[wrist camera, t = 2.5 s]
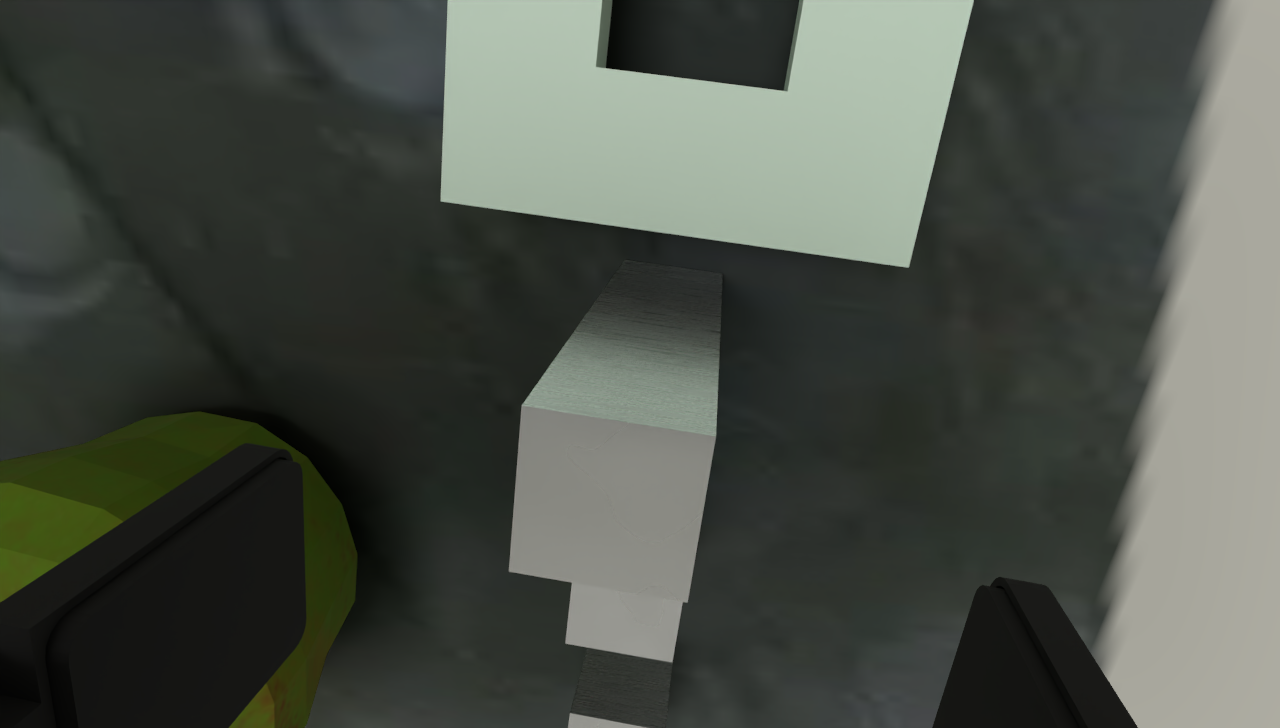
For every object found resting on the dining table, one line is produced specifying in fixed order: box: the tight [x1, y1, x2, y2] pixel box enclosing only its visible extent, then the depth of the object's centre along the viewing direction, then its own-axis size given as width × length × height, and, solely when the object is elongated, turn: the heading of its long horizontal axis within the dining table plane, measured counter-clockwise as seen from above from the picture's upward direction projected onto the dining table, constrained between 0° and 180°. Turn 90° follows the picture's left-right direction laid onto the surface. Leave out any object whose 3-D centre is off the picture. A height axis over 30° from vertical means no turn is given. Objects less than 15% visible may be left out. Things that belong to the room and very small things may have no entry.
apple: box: [0, 411, 357, 728], centre depth 24 cm, size 12×12×11 cm
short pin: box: [568, 647, 672, 728], centre depth 28 cm, size 3×3×4 cm
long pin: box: [509, 260, 723, 603], centre depth 19 cm, size 3×3×13 cm
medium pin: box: [565, 583, 683, 662], centre depth 25 cm, size 3×3×6 cm
